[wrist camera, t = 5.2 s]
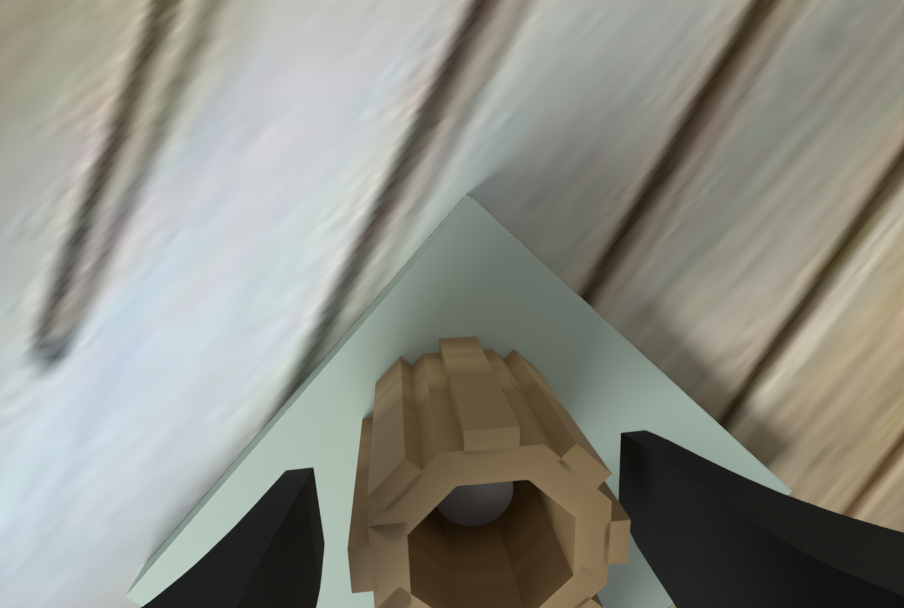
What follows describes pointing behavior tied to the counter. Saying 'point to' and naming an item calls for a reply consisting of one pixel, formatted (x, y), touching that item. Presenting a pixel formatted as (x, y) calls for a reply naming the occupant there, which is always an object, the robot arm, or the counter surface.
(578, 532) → the oak cog
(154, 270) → the counter surface
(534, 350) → the board
